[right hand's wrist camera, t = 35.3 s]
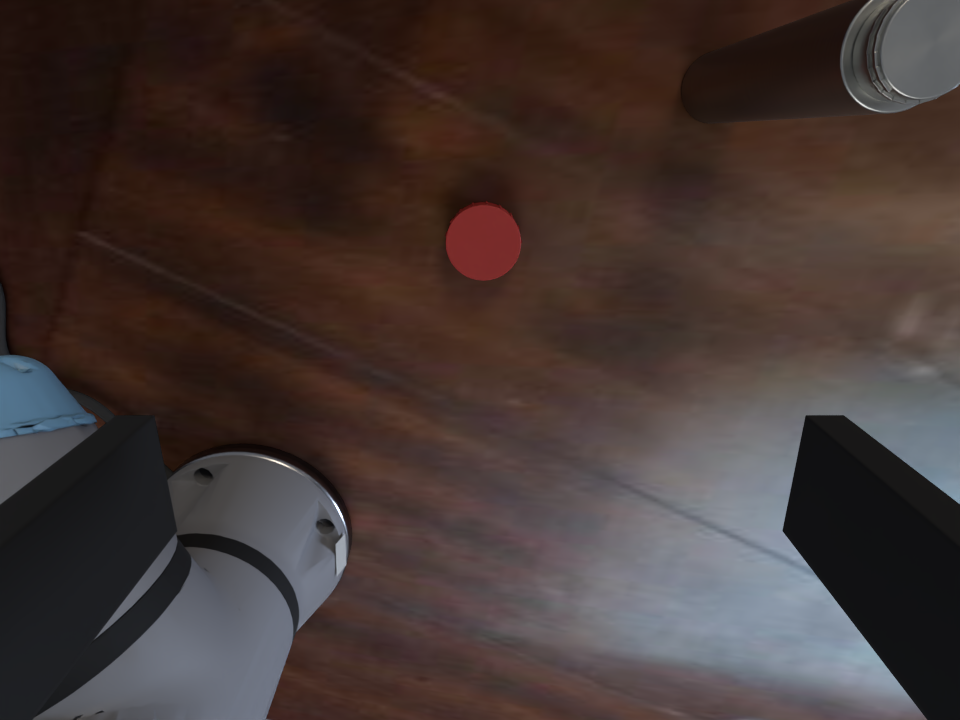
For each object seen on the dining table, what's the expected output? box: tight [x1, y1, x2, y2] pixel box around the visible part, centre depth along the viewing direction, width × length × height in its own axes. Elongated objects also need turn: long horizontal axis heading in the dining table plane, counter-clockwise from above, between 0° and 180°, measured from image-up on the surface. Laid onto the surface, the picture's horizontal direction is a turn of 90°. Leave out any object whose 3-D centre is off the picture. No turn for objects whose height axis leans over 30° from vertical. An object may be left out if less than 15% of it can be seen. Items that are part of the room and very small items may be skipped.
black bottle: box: [681, 0, 960, 123], centre depth 28 cm, size 4×4×19 cm
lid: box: [445, 201, 522, 281], centre depth 40 cm, size 5×5×2 cm
